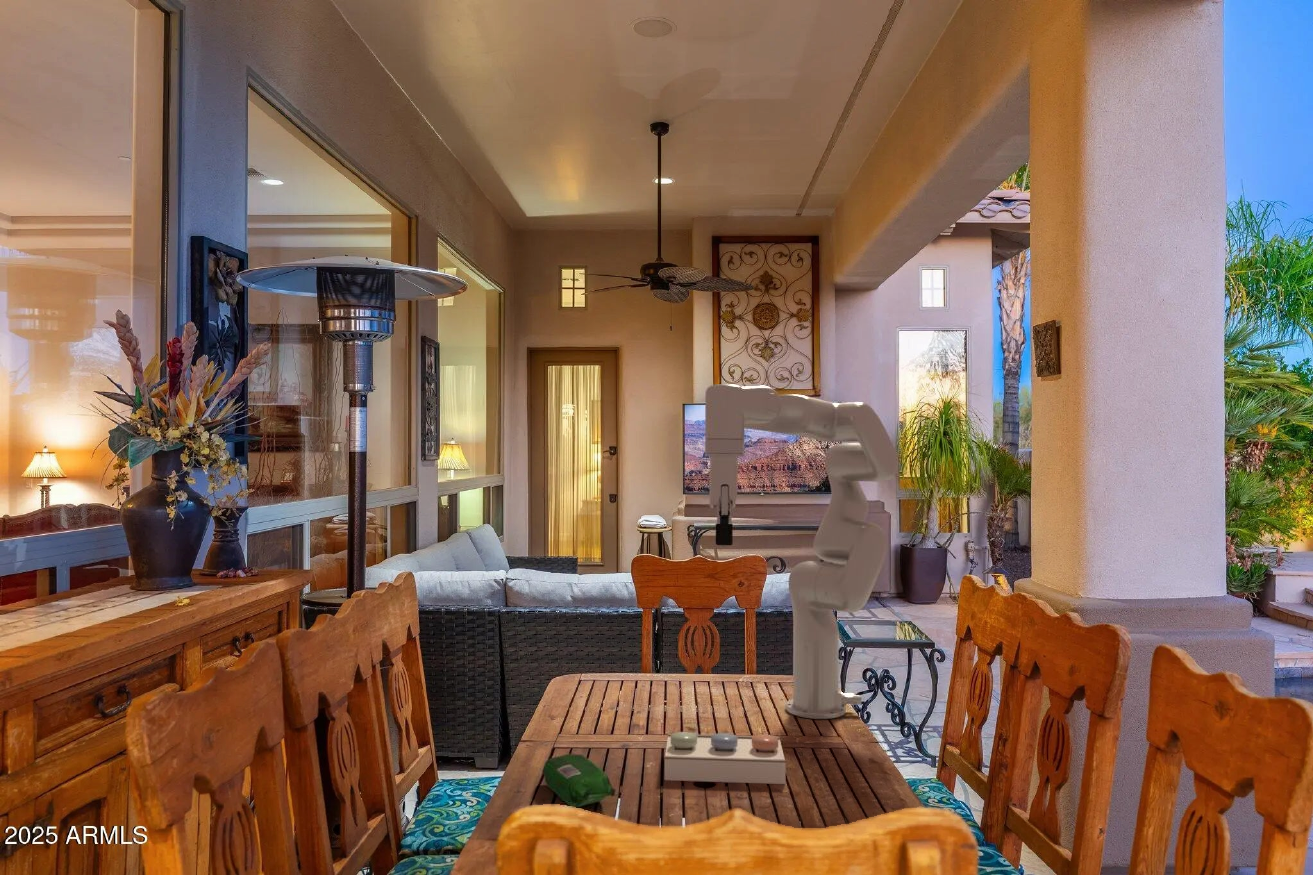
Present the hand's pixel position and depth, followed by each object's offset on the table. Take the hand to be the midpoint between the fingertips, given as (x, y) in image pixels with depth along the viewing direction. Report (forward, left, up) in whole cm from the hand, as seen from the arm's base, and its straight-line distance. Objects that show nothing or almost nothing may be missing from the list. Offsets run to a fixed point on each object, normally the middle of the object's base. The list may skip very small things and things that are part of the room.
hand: (724, 544), depth 162 cm
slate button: (0, +15, -35) cm, 38 cm away
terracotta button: (-7, +15, -35) cm, 39 cm away
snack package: (+24, +29, -38) cm, 53 cm away
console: (0, +15, -37) cm, 40 cm away
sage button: (+7, +15, -35) cm, 39 cm away
